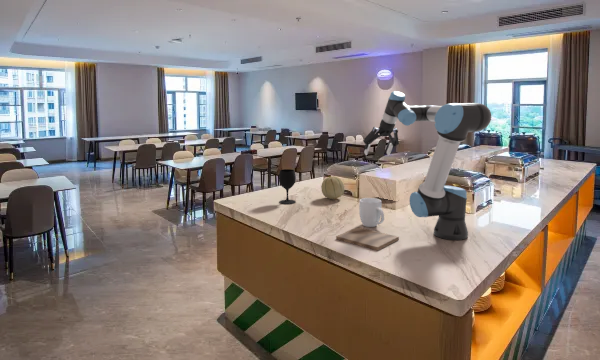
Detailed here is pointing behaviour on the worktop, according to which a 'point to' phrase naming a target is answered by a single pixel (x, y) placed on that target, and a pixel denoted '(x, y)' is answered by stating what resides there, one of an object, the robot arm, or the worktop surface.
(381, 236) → the serving board
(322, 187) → the cantaloupe
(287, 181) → the wine glass
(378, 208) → the mug
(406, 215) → the worktop surface
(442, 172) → the robot arm
